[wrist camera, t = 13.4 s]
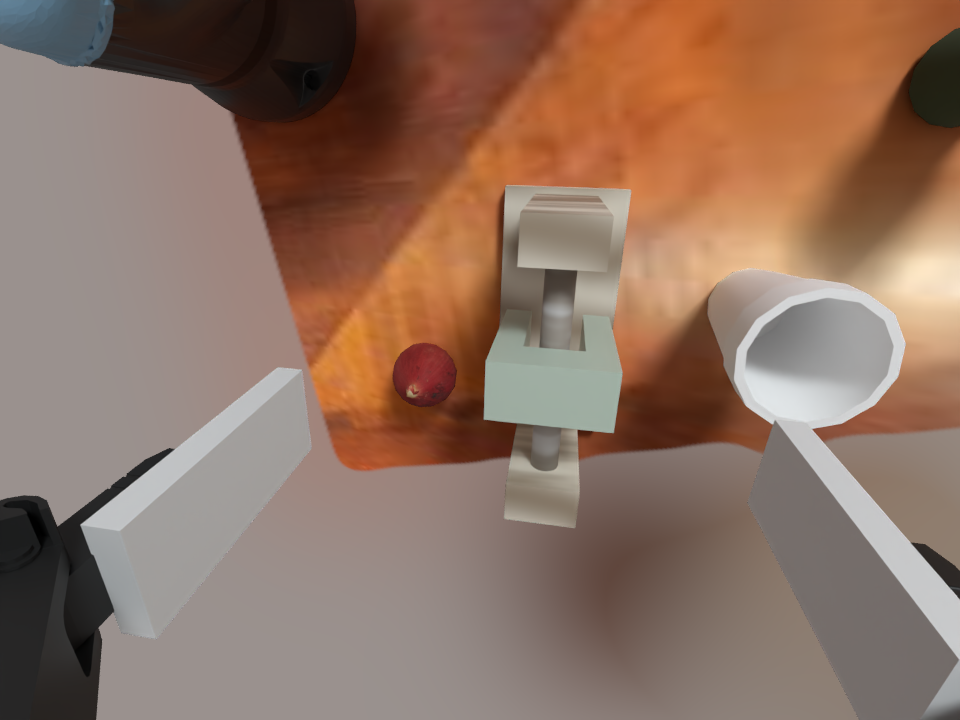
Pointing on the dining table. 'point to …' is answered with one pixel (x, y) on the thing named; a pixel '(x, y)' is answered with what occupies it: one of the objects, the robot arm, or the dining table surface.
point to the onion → (424, 375)
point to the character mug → (938, 83)
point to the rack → (557, 320)
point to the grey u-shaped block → (553, 377)
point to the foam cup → (804, 346)
